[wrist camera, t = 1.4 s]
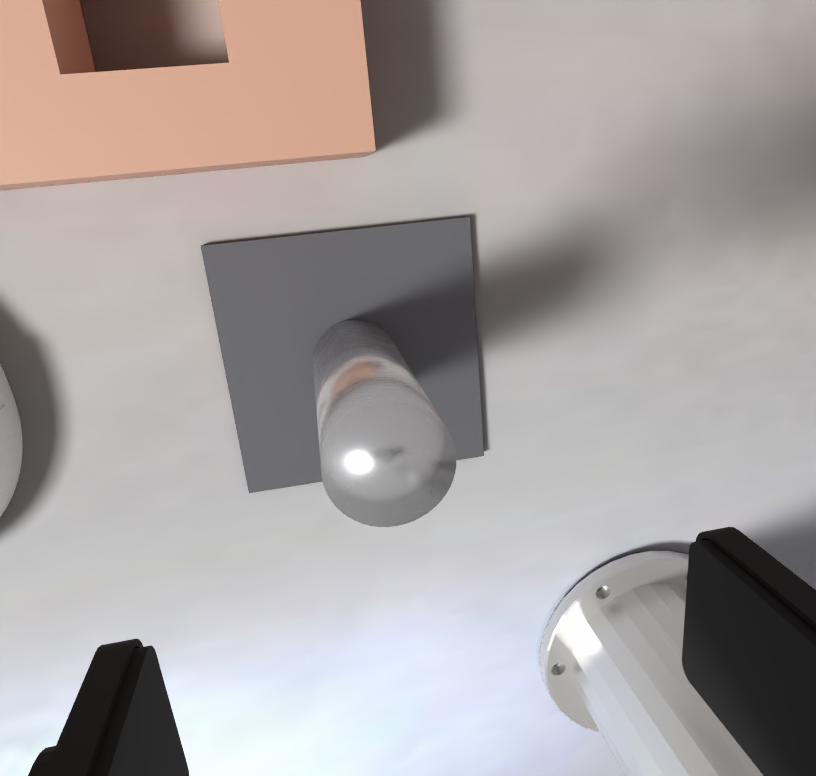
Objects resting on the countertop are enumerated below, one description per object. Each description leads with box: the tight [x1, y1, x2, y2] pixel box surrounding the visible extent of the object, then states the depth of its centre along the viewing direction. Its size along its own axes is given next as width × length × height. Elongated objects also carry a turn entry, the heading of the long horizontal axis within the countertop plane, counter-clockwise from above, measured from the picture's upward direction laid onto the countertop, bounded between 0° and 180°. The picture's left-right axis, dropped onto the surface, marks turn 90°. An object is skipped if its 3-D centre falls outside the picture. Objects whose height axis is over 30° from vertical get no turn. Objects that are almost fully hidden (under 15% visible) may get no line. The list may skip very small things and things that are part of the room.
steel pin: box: [313, 319, 456, 527], centre depth 24 cm, size 4×4×12 cm
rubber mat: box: [201, 217, 484, 493], centre depth 30 cm, size 12×12×1 cm
